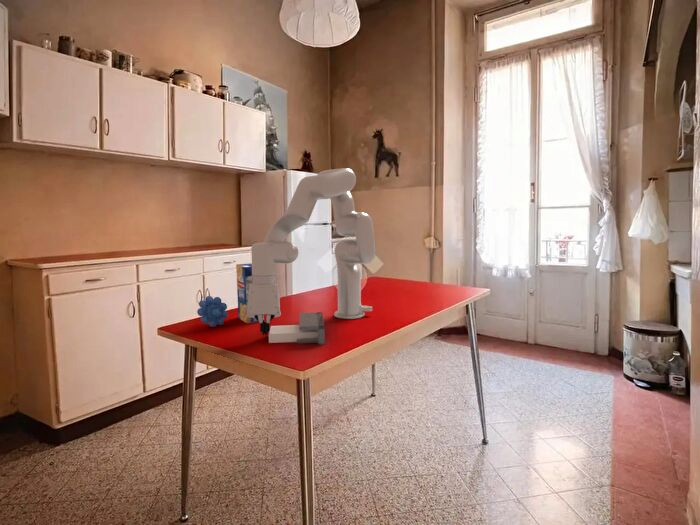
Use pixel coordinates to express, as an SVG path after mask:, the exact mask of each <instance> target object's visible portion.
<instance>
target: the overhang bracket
mask: <svg viewBox="0 0 700 525" xmlns="http://www.w3.org/2000/svg"><path fill="white" fill-rule="evenodd" d="M298 325H299V330H318V338H307V339H297V342H296V344H313V343H315V344H316V343H317V344H318V346H319V345H320V346H321V345H325V344H326V343H325V342H326V341H325V340H326V338H325V336H326V334H325V332H326V331H325V321H324V315H323V312H322V311H321V312H300V313H299V324H298Z"/></svg>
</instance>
